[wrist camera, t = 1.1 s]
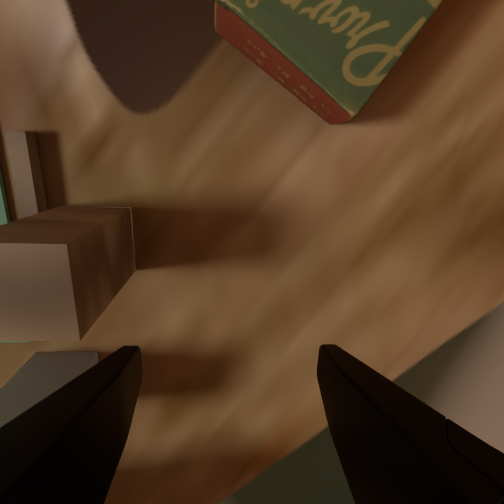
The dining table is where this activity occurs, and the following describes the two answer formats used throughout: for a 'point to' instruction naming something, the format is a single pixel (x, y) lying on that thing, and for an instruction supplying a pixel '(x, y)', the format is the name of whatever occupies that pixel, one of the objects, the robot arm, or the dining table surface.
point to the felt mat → (4, 216)
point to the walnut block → (62, 270)
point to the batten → (26, 172)
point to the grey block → (41, 380)
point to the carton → (324, 45)
